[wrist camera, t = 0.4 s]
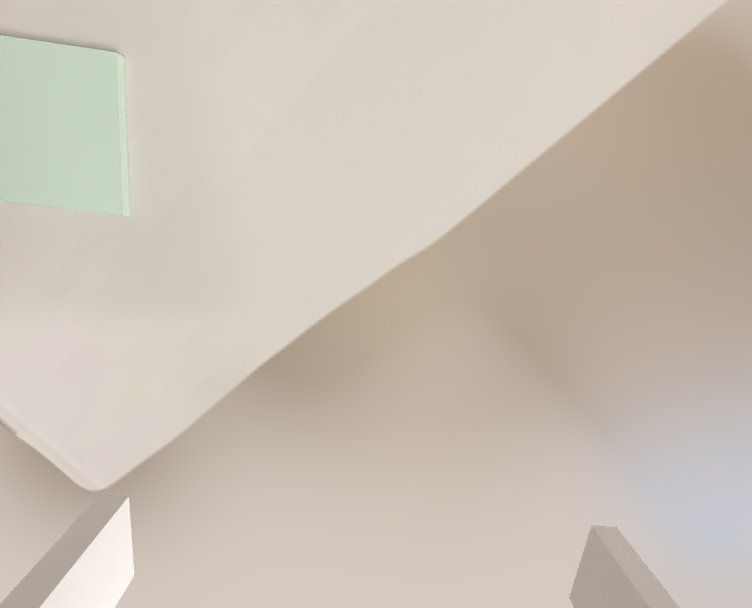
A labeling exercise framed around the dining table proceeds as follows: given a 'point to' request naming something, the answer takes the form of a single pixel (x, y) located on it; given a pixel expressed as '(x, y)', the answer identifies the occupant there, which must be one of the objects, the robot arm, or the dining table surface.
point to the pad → (63, 127)
